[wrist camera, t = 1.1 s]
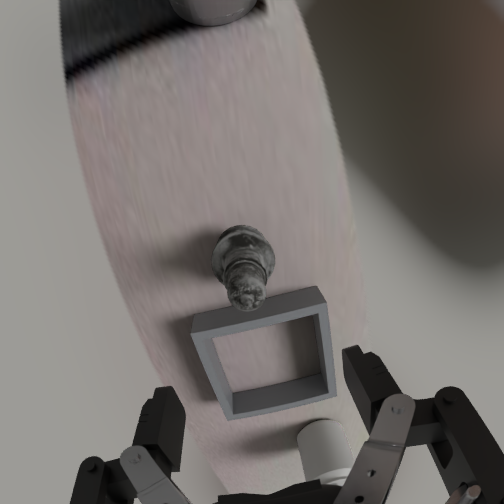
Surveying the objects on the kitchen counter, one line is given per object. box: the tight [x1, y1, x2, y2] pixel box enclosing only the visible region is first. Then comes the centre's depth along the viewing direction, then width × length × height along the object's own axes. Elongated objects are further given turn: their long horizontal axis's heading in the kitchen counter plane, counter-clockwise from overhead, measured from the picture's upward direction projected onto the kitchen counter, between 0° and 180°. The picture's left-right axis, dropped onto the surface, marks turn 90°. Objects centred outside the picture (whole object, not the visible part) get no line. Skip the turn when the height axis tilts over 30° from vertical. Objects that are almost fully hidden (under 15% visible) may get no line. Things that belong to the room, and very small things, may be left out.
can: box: [297, 419, 355, 486], centre depth 37 cm, size 8×8×12 cm
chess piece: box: [211, 225, 275, 312], centre depth 26 cm, size 6×6×12 cm
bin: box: [190, 286, 337, 421], centre depth 34 cm, size 14×14×4 cm
